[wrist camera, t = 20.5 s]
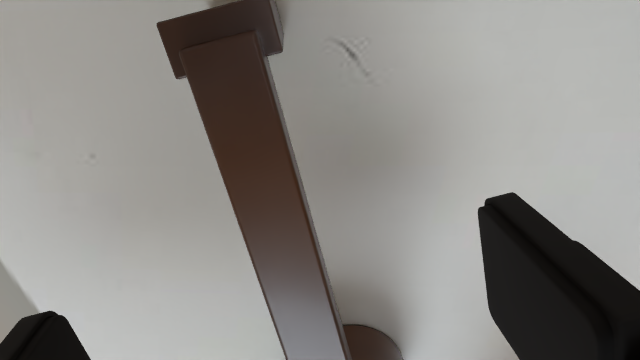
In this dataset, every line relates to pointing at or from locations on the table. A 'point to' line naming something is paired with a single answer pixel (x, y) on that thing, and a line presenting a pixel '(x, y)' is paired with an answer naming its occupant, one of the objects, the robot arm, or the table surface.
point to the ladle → (265, 174)
